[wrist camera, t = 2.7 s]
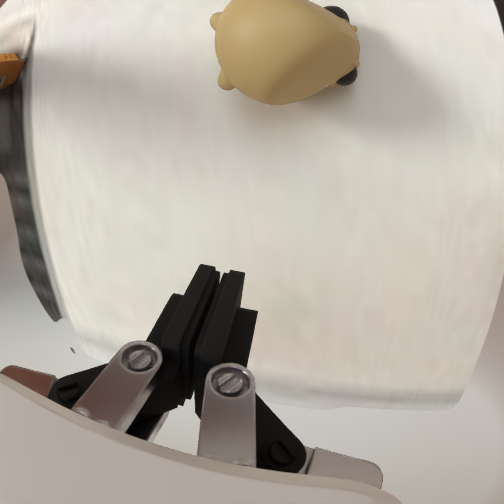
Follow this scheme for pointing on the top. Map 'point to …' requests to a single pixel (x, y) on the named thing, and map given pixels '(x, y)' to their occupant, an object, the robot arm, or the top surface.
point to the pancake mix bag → (9, 69)
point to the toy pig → (284, 49)
